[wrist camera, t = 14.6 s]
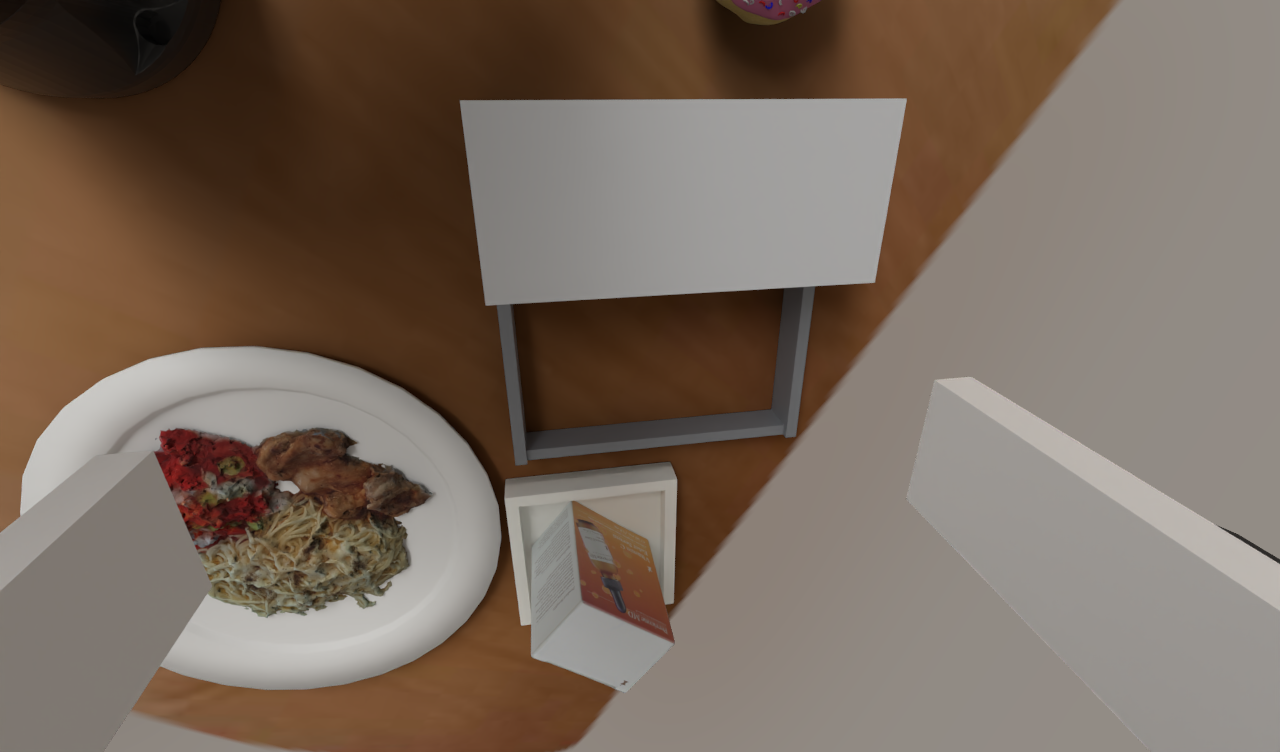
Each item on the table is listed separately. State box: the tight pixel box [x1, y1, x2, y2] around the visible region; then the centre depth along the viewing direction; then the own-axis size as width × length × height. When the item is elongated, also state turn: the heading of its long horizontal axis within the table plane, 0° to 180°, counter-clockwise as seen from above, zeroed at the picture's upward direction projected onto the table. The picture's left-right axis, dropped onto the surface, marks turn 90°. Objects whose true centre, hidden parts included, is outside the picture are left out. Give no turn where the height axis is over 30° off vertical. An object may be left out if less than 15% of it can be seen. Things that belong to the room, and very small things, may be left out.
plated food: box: [20, 346, 501, 690], centre depth 41 cm, size 30×30×3 cm
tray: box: [504, 462, 677, 626], centre depth 46 cm, size 13×13×2 cm
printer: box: [460, 99, 907, 465], centre depth 35 cm, size 21×23×10 cm
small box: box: [531, 501, 675, 693], centre depth 42 cm, size 8×6×10 cm
